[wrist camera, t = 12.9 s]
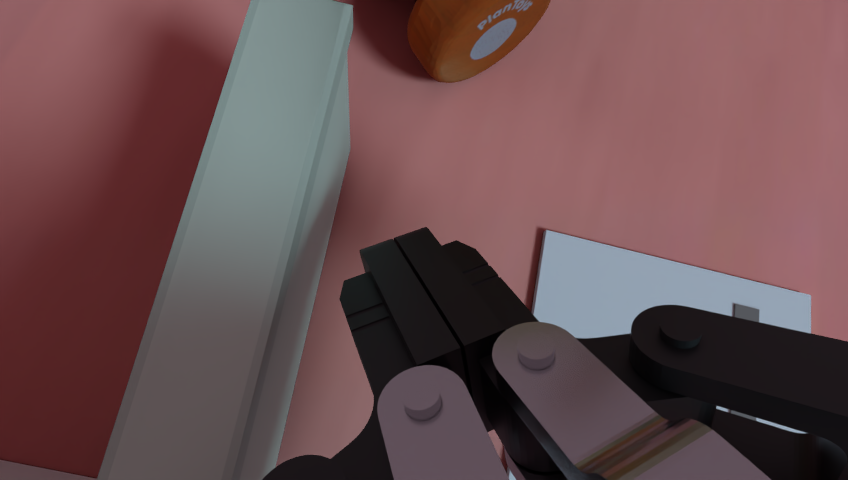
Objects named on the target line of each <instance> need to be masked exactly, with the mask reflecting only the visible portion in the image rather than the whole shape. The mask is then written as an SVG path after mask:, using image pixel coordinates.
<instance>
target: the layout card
mask: <svg viewBox="0 0 848 480" xmlns="http://www.w3.org/2000/svg"><path fill="white" fill-rule="evenodd" d="M660 305H681V306H687V307H691V308H696V309H701V310H705V311H710V312H714V313H719V314H723V315H728V316H733V317H737V318H742V319H746V320H751V321H755V322H760V323H765V324H769V325H774V326H778V327H783V328H787V329H792V330H797V331H801V332H806V333H810V334H811V295H808V294H804V293H800V292H796V291H792V290H788V289H784V288H780V287H776V286H771V285H767V284H763V283H759V282H755V281H751V280H747V279H743V278H739V277H735V276H731V275H727V274H723V273H719V272H715V271H711V270H707V269H703V268H699V267H695V266H691V265H687V264H682V263H678V262H674V261H670V260H666V259H662V258H658V257H654V256H650V255H646V254H642V253H638V252H634V251H630V250H626V249H622V248H618V247H614V246H610V245H606V244H602V243H598V242H593V241H589V240H585V239H581V238H577V237H573V236H569V235H565V234H561V233H557V232H553V231H549V230H546V231H544V233H543V240H542V246H541V253H540V259H539V266H538V272H537V279H536V285H535V292H534V298H533V305H532V311H531V313H532V314H533V315H534V316H535V317H536V319H537V320H538V321H539V322H545V323H550V324H554V325H556V326H559V327H561V328H563V329H565V330H566V331H568V332H569V333H570V334H572V335H573V336H574V337H575V338H598V337H606V336H614V335H622V334H630V333H631V327H632V323H633V321H634V319H635V318H636V317H637V315H638V314H640V313H641V312H642V311H644V310H646V309H648V308H651V307H654V306H660ZM716 409H719V410H722V411H725V412H729V413H732V414H735V415H739V416H742V417H745V418H748V419H752V420H755V421H758V422H761V423H765V424H768V425H771V426H775V427H778V428H781V429H784V430H788V431H791V432H796V433H805V432H802V431H799V430H795V429H792V428H789V427H785V426H782V425H779V424H776V423H772V422H769V421H766V420H762V419H759V418H756V417H752V416H749V415H746V414H743V413H739V412H736V411H733V410H729V409H726V408H723V407H719V406H717V407H716ZM507 475H508V478H509V480H516V479H515V477H514V476H513V474H512V473H511V471H510V469H509V467H508V468H507Z"/></svg>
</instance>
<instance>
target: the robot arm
mask: <svg viewBox="0 0 848 480" xmlns="http://www.w3.org/2000/svg"><path fill="white" fill-rule="evenodd" d="M360 255H361V259H362V262H363V266H364V269H365V272H366V273H364V274H362V275H359V276H356V277H353V278H351V279H348V280H345V281H344V283H343V287H342V292H341V296H340V301H341V304H342V307H343V310H344V313H345V316H346V319H347V322H348V324H349V327H350V330H351V333H352V336H353V339H354V342H355V345H356V347H357V350H358V353H359V356H360V359H361V361H362V364H363V367H364V370H365V372H366V375H367V378H368V381H369V384H370V386H371V389H372V392H373V395H374V406H373V411H372V414H371V417H370V419H369V421H368V423H367V424H366V426H365V428H364V429H363V431H362V432H361V433H360V434H359V435H358V436H357V437H356V438H355V439H354V440H353V441H352V442H351V443H350V444H349V445H347V446H346V447H345V448H344V449H342V450H341V451H340V452H339V453H338V454H336V455H335V456H334V457H333V458H331V459H328V458H326V457H323V456H319V455H304V456H299V457H295V458H293V459H290V460H287V461H285V462H284V463H282V464H280V465H278V466H277V467H276V468H274V469H273V470H271V471H270V472H269V473H268V474H267V475H266V476H265V477H264V478H263V479H262V480H509V478H508V475H507V473H506V471H505V469H504V467H503V465H502V463H501V460H500V458H499V456H498V454H497V452H496V450H495V448H494V445H493V443H492V441H491V439H490V437H489V435H488V432H489V431H491V430H493V429H494V430H495V431H496V433H497V435H498V437H499V438H500V440H501V442H502V443H503V445H504V451H505V458H506V462H507V465H508V467H509V469H510V471H511V473H512V474H513V476H514V477H515V479H516V480H848V342H847V341H842V340H838V339H833V338H829V337H824V336H819V335H815V334H810V333H806V332H801V331H797V330H792V329H787V328H783V327H778V326H774V325H769V324H765V323H760V322H755V321H751V320H746V319H742V318H737V317H733V316H728V315H723V314H719V313H714V312H710V311H705V310H701V309H696V308H691V307H687V306H681V305H660V306H654V307H651V308H648V309H646V310H644V311H642V312H641V313H640V314H638V315H637V317H636V318H635V319H634V321H633V323H632V327H631V333H630V334H622V335H614V336H606V337H598V338H575V337H574V336H573V335H572V334H570V333H569V332H568V331H566V330H565V329H563V328H561V327H559V326H556V325H554V324H550V323H545V322H539V321H538V320H537V319H536V317H535V316H534V315H533V314H532V313H531V312H530V311H529V309H528V308H527V307H526V306H525V305H524V304H523V303H522V302H521V300H520V299H519V298H518V297H517V296H516V295H515V294H514V292H513V291H512V290H511V289H510V288H509V287H508V286H507V284H506V283H505V282H504V281H503V280H502V279H501V278H499V277H498V274H497V273H496V272H495V271H494V270H493V268H492V267H491V266H489V265H488V263H487V262H486V260H485V259H484V258H483V257H482V256H481V255H480V254H479V253H478V251H477V250H476V249H474V248H472V247H470V246H467V245H465V244H463V243H461V242H459V241H453V242H451V243H448V244H445V245H442V246H441V245H440V243H439V242H438V241H437V239H436V238H435V237H434V235H433V234H432V233H431V232H430V230H429V229H428V228H427V227H424V228H421V229H418V230H416V231H413V232H410V233H407V234H404V235H401V236H398V237H395V238H394V240H393V239H390V240H387V241H384V242H381V243H379V244H376V245H373V246H370V247H367V248H364V249H361V250H360ZM717 406H719V407H723V408H726V409H729V410H733V411H736V412H739V413H743V414H746V415H749V416H752V417H756V418H759V419H762V420H766V421H769V422H772V423H776V424H779V425H782V426H785V427H789V428H792V429H795V430H799V431H802V432H805V433H796V432H791V431H788V430H784V429H781V428H778V427H775V426H771V425H768V424H765V423H761V422H758V421H755V420H752V419H748V418H745V417H742V416H739V415H735V414H732V413H729V412H725V411H722V410H719V409H716V407H717Z"/></svg>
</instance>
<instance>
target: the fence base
mask: <svg viewBox="0 0 848 480" xmlns="http://www.w3.org/2000/svg"><path fill="white" fill-rule="evenodd" d="M0 480H97V479H96V478H91V477H86V476H81V475H76V474H70V473H65V472H60V471H55V470H50V469H45V468H40V467H35V466H30V465H24V464H19V463H14V462H9V461H4V460H0Z"/></svg>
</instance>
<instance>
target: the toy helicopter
mask: <svg viewBox="0 0 848 480" xmlns="http://www.w3.org/2000/svg"><path fill="white" fill-rule="evenodd" d="M549 3H550V0H417V1H416V2H415V5H414V8H413V10H412V12H411V14H410V17H409V21H408V30H407V35H408V41H409V44H410V47H411V49H412V51H413V52H414V54H415V55H416V57H417V58H418V60H419V61H420V62H421V64H422V65H423V67H424V68H425V70H426V71H427V73H428V74H429V75H430V76H431V77H432V78H434V79H435V80H437V81H439V82H446V83H452V82H458V81H462V80H465V79H468V78H470V77H473V76H475V75H477V74H479V73H481V72H482V71H484V70H486V69H487V68H489V67H490V66H492V65H493V64H495V63H496V62H498V61H499V60H500V59H502V58H503V57H504V56H506V55H507V54H508V53H509V52H510V51H512V50H513V49H514V48H515V47H516V46H517V45H518V44H519V43H520V42H521V41H522V40H523V39H524V38H525V37H526V36H527V35H528V34H529V33H530V32H531V31H532V29H533V28H534V27H535V25H536V24H537V23H538V21H539V20H540V19H541V17H542V16H543V14H544V13H545V11H546V9H547V8H548V5H549Z"/></svg>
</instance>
